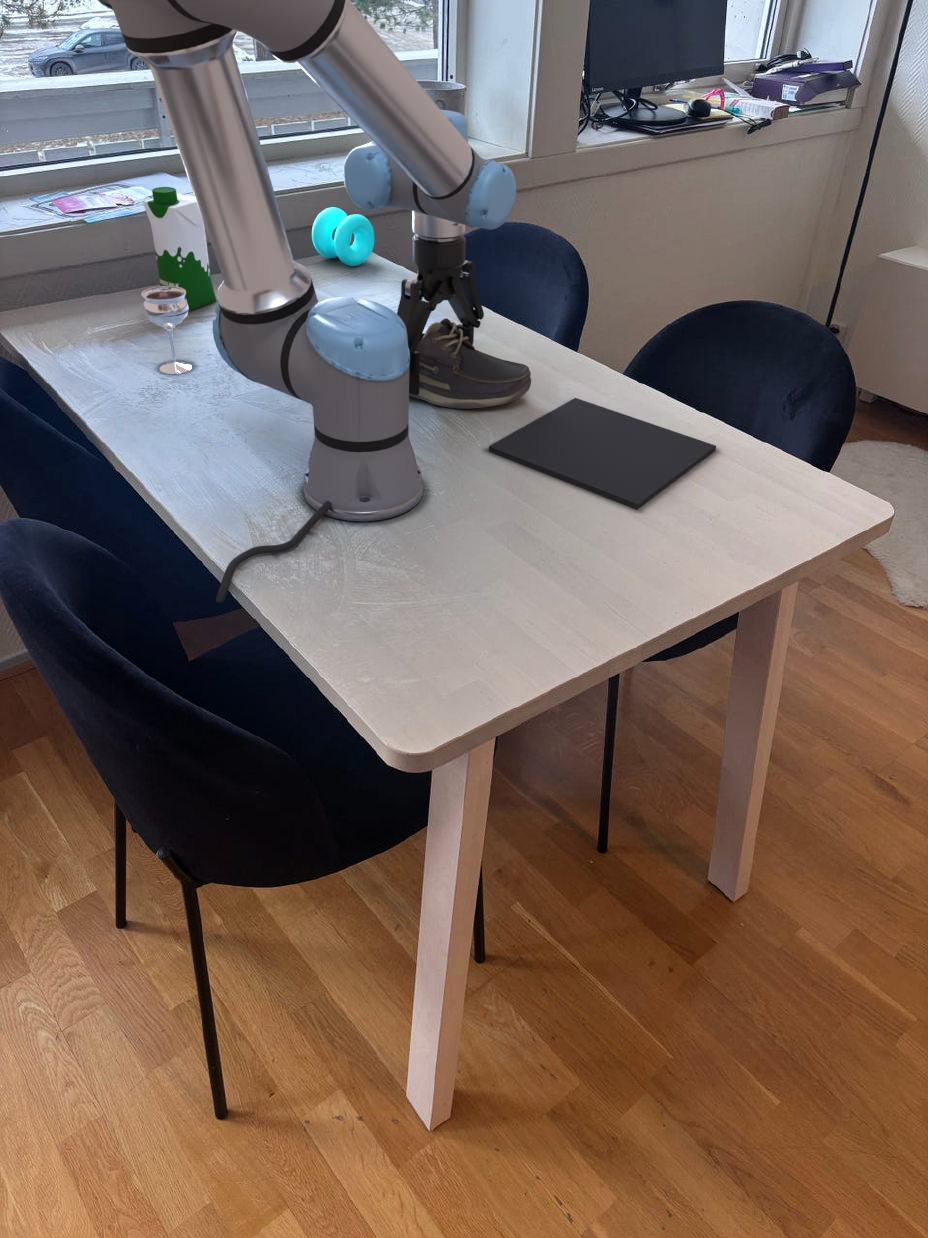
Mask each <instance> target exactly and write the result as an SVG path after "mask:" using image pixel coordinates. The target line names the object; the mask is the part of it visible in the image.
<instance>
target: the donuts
mask: <svg viewBox="0 0 928 1238" xmlns="http://www.w3.org/2000/svg"><path fill="white" fill-rule="evenodd" d="M334 231H335V233H334ZM333 233H334V238H333ZM353 235H354V240H353V242H352V244H351V241H352V237H353ZM311 240H312V244H313V247H314V248H315V250H316V252H317V253H318V254H319V255H320V256H322V257H324V258H327V259H336V258H338V259H339V260H340V262H342V263H343V264H345V265H347V266H349V267H357V266H360V265H362V264H364V263H365V262H366V261H368V259H369V258H370V256H371V254H372V252H373V249H374V246H375V230H374V226H373V224H372V223H371V221H370V220H369V219H368V218H367V217H366V216H364V215H362V214H358V213H357V214H350V215H348V214H347V213H346V212H345V210H342V209H341V208H339V207H327V208H325V209H324V210H321V212H320V213H319V214H318V215H317V216H316V218H315V219H314V222H313V224H312V229H311ZM350 244H351V245H350Z"/></svg>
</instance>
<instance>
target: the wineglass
mask: <svg viewBox="0 0 928 1238" xmlns="http://www.w3.org/2000/svg"><path fill="white" fill-rule="evenodd" d="M185 294H186V290H184V289H183V288H180V287H175V286H160V285H158V286H153V287H149V288H146V289H143V291H142V292H141V295H140V296H141V297H142V298H143V304H142V309H143V312H144V314H145V316H146V318H147V319H148V320H149V321H151V323H153V324H154V325H156V326H159V327H162V328H163V329H164V330H166V332H167V336H168V342H169V347H170V351H171V357H172V361H171V362H167V363H164V364H162V365H160V367H159V371H160V372H161V373H163V374H168V375H180V374H184V373H187V372H189V371H190V370H191V369H192V365H191V364H190V363H189V362H185V361H177V359H176V352H175V342H174V332H173V330H175V327H176V326H178V325H180V324H182V323H183V321H184V320H185V319H186V317H187V316H188V313H189V311H188V309H189V307H188V302H187V300H186V298H185Z"/></svg>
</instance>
